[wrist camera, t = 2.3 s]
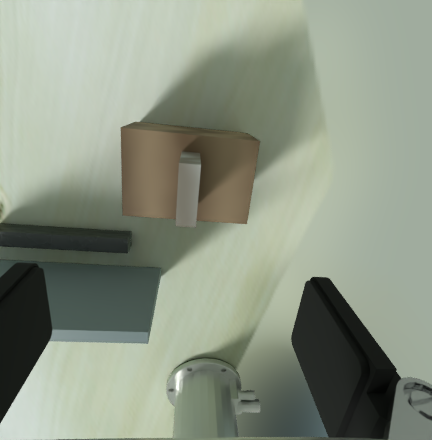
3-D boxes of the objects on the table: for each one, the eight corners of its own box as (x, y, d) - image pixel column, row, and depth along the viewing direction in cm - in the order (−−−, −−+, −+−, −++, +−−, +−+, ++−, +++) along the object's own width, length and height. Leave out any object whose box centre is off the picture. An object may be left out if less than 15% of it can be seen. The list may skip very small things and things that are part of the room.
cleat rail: (131, 231, 38) (127, 239, 36) (131, 245, 39) (127, 253, 36) (0, 223, 36) (-12, 230, 34) (2, 237, 37) (-9, 245, 35)
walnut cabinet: (243, 130, 34) (274, 150, 21) (235, 195, 37) (256, 248, 24) (139, 120, 33) (103, 134, 20) (139, 188, 36) (108, 239, 23)
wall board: (160, 268, 40) (148, 332, 29) (160, 277, 41) (148, 343, 30) (-26, 258, 38) (-117, 324, 27) (-23, 268, 38) (-112, 337, 27)
